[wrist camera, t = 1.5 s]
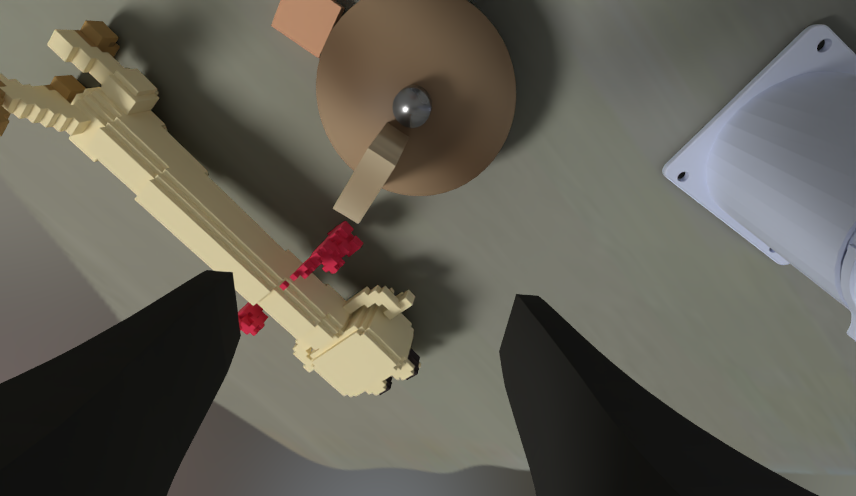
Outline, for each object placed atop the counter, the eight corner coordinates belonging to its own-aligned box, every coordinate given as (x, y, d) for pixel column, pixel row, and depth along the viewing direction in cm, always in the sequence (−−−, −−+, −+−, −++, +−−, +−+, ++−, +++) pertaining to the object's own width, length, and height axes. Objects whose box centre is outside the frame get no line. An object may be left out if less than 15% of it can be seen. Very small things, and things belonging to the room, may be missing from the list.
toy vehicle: (71, 123, 24) (363, 389, 30) (-132, 161, 16) (318, 508, 22) (152, -10, 20) (467, 328, 26) (-64, -43, 12) (457, 446, 19)
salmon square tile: (344, 7, 18) (341, 7, 18) (322, 56, 19) (318, 57, 19) (296, -28, 18) (291, -29, 17) (276, 25, 19) (271, 25, 18)
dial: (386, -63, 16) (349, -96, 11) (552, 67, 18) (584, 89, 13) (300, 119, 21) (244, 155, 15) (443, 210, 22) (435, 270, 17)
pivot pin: (439, 99, 17) (437, 103, 17) (419, 130, 18) (417, 135, 17) (407, 77, 17) (405, 79, 16) (388, 109, 18) (385, 113, 17)
